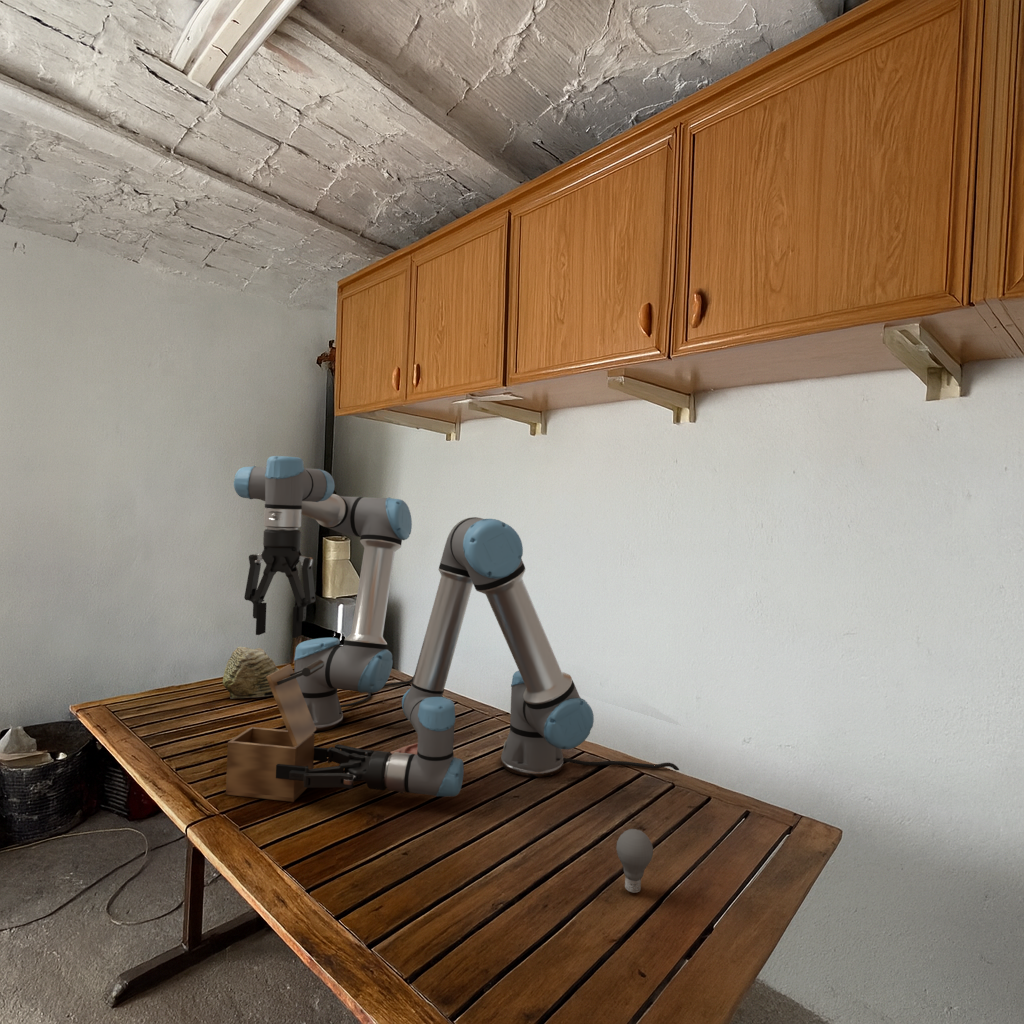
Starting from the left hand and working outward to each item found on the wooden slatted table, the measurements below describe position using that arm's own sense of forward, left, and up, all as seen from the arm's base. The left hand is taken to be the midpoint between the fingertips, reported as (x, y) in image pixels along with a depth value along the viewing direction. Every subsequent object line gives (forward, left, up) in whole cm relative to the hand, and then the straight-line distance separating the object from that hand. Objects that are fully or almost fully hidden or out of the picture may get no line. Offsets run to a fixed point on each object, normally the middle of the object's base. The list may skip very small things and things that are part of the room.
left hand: (278, 634), depth 136 cm
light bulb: (-21, +75, -33) cm, 85 cm away
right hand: (-2, +3, -27) cm, 27 cm away
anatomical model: (-27, +9, -33) cm, 44 cm away
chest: (0, 0, -33) cm, 33 cm away
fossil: (-30, -61, -33) cm, 76 cm away
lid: (-2, +3, -15) cm, 15 cm away
